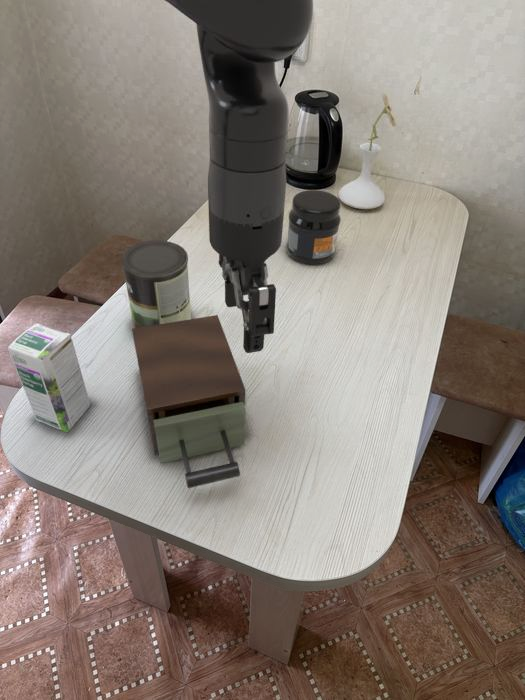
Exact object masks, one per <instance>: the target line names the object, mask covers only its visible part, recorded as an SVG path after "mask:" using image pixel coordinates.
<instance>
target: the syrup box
mask: <svg viewBox="0 0 525 700" xmlns="http://www.w3.org/2000/svg"><path fill="white" fill-rule="evenodd" d="M7 351H8V353H9V356H10V358H11V361H12V363H13V365H14V368H15V371H16V373H17V376H18V378H19V381H20V383H21V386H22V388H23V390H24V393H25V395H26V398H27V400H28V403H29V405H30V408H31V410H32V414H33V415H34V418H35V420H36V422H39V423H42V424H45V425H46V426H50V427H52V428H54V429H57V430H60V431H62V432H64V433H69V432H70V431H71V429H72V428H73V427H74V426H75V425H76V424H77V422H78V421H79V420H80V419H81V417H82V416H84V414H85V413H86V412H87V410H88V409H89V408H90V407H91V401H90V398H89V395H88V391H87V388H86V385H85V380H84V377H83V374H82V369H81V366H80V363H79V359H78V356H77V352H76V349H75V345H74V342H73V337H72V334H71V333H68V332H63V331H61V330H58V329H56V328H53V327H51V326H47V325H44V324H41V323H38V322H36V323H34V324H33V325H32V326H30V327H29V328H27V329H26V330H24V331H23V332H22V333H21V334H20V335H19V336H17V337H16V338H15V339H14V340H13V341H12V342H11V343H10V344H9V345H8V346H7Z"/></svg>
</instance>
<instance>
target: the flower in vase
mask: <svg viewBox="0 0 525 700" xmlns="http://www.w3.org/2000/svg"><path fill="white" fill-rule="evenodd" d="M381 95H382V96H381V97H382V102H383V105H384V107H383V110H382V111H381V113H380V114H379V115H378V117H377V118H376V120H375V122H374V124H372V130H371V135H370V138H367V141H370V142H364V143H361V144H360V145H359V148H360V150H361V153H362V167H361V172H360V174H359V176H358V177H357V178H355V179H354V180H352V181H350V182H348V183H346V184H345V185H343V186H342V187H341V188H340V190H338V197H339V200H340V202H342V203H343V204H345V205H347V206H349V207H351V208H355V209H360V210H370V209H371V210H372V209H376V208H379V207H380V206H382V205H383V204H384V203H385V199H386V197H385V193H384V192H383V191H382V188H380V186H379V185H377V184H376V183H375V182H374V180H373V179H372V169H373V165H374V162H375V160H376V158H377V156H378V154H379V153H380V152H381V151H382V150H383V148H382V146H381V145H379V144H377V143H373V140H377V139H379V138H380V136H378V135H377V134H378V133H377V129H376V125H377V123H378V122H379V120H380V119H381V117H382V116H383V115H384V114H386V115H387V118H388V120H389V122H390V124H391V126H392V127H394V128H395V126H397V123H396V119H395V117H394V115H393V113H392V106H391V104H389V98H388V94H387V92H386V90H384V91H382V92H381Z"/></svg>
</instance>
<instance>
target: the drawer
mask: <svg viewBox="0 0 525 700" xmlns="http://www.w3.org/2000/svg"><path fill="white" fill-rule="evenodd" d="M157 415H158V419H156V420H153V421H154V427H155V433H156V439H157V445H158V451H159V454H158V455H159V456H158V457H159V461H160V464H165V463H169V462H173V461H174V462H175V461H178V460H182V461H183V465H184V470H185V473H184V476H185V477H184V478H185V482H186V487H187V489H192V488H196V487H200V486H204V485H209V484H213V483H217V482H221V481H225V480H229V479H235V478H237V477H240V476H241V470H240V467H239V463H238V462H237V461H235V458H234V455H233V451H232V449H231V448H236V447H241V446H245V439H246V438H245V437H246V435H245V434H246V405H245V406H244V403H243V402H239V403H234V397H230V398H225V399H220V400H215V401H210V402H205V403H200V404H195V405H190V406H185V407H180V408H175V409H170V410H165V411H160V412H157ZM221 450H225V453H226V456H227V459H228V462H229V463H225V464H221V465H216V466H212V467H206V468H204V469H198V470H194V471H192V469H191V463H190V460H189V458H191V457H195V456H200V455H205V454H209V453H214V452H217V451H218V452H219V451H221Z"/></svg>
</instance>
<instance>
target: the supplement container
mask: <svg viewBox="0 0 525 700" xmlns="http://www.w3.org/2000/svg"><path fill="white" fill-rule="evenodd" d="M341 204H342V203H341V199H340V198H338V196H336V195H335V194H333V193H331V192H328V191H324V190H320V189H319V190H318V189H309V190H308V189H307V190H302V191H299V192H298V193H296V194H295V195H294V196H293V197H292V203H291V209H290V211H289V213H288V226H287V227H288V228H287V239H286V252H287V253H288V255H289V256H290V257H291V258H292V259H294V260H296V261H298V262H300V263H303V264H308V265H318V264H323V263H326V262H328V261H330V260H331V259H332V258H333V257H334V255H335V254H336V247H337V240H338V236H339V235H338V234H339V229H340V224H341V222H342V221H341V219H342V218H341V214H340V211H341Z"/></svg>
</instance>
